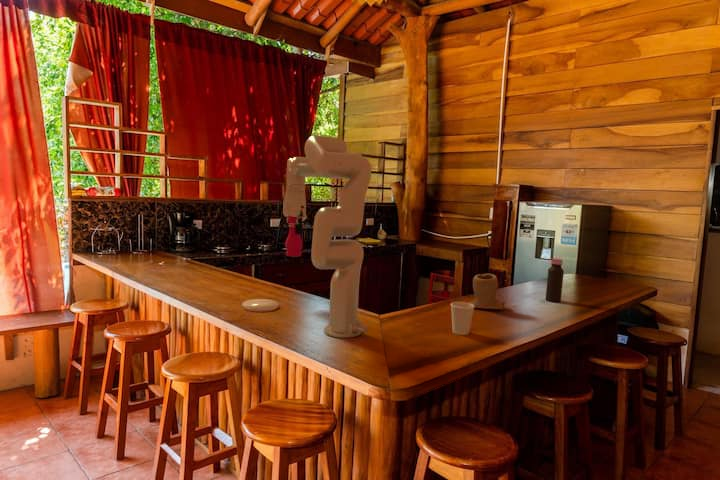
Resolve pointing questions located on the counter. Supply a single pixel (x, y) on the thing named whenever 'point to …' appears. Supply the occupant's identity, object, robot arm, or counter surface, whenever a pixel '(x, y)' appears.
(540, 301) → the counter surface
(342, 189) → the robot arm
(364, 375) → the counter surface
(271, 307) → the disc
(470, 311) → the dixie cup
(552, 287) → the bottle
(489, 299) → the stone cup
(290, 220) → the pepper mill
